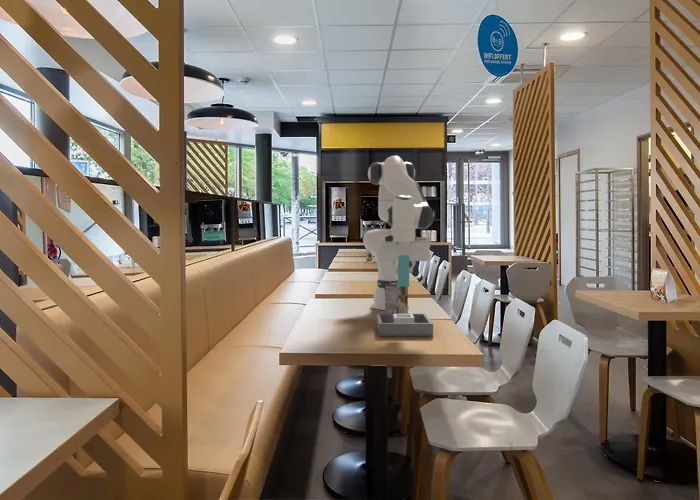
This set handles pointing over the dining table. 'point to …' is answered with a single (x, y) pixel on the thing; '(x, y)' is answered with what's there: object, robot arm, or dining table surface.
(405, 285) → the connector peg
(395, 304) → the coffee box
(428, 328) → the inlet box
